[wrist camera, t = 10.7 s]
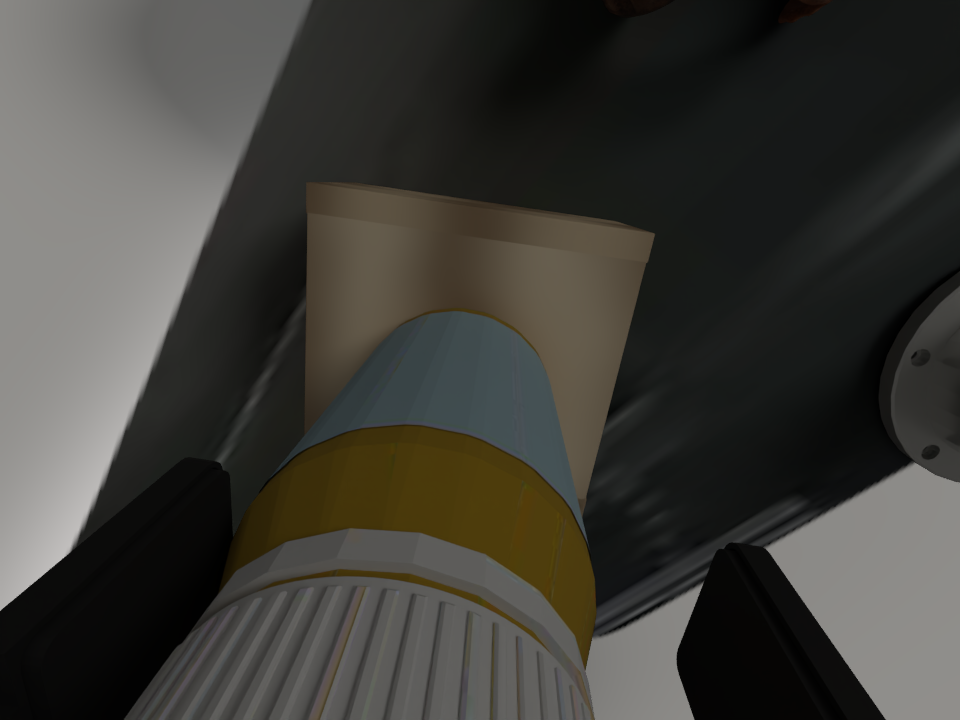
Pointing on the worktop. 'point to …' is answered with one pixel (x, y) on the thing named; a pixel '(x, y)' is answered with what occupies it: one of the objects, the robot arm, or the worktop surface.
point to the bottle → (406, 553)
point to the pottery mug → (635, 3)
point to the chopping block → (472, 290)
